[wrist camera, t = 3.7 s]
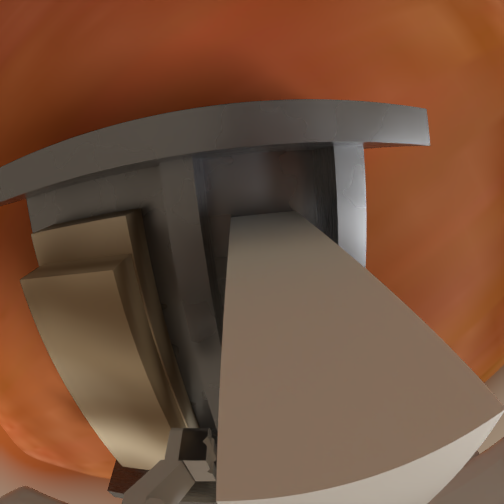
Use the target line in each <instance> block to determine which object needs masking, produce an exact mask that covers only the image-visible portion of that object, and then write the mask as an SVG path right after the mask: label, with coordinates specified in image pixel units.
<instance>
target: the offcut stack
mask: <svg viewBox="0 0 504 504" xmlns="http://www.w3.org/2000/svg"><path fill="white" fill-rule="evenodd" d="M31 236H32V241H33V245H34V249H35V253H36V257H37V261H38V264H39V267H38V268H37V269H35V270H34V271H32V272H31V273H29V274H28V275H26V276H25V277H23V278H22V279H20V283H21V286H22V289H23V292H24V295H25V298H26V300H27V303H28V306H29V308H30V311H31V314H32V316H33V319H34V321H35V324H36V326H37V328H38V331H39V333H40V335H41V338H42V340H43V342H44V344H45V346H46V349H47V351H48V353H49V355H50V357H51V359H52V361H53V363H54V365H55V367H56V369H57V371H58V372H59V374H60V376H61V378H62V380H63V382H64V383H65V385H66V387H67V389H68V390H69V392H70V394H71V395H72V397H73V399H74V400H75V402H76V404H77V405H78V407H79V408H80V410H81V411H82V413H83V415H84V416H85V418H86V419H87V421H88V422H89V423H90V425H91V426H92V428H93V429H94V431H95V432H96V433H97V435H98V436H99V438H100V439H101V440H102V442H103V443H104V444H105V446H106V447H107V448H108V449H109V451H110V452H111V453H112V454H113V456H114V457H115V458H116V459H117V461H118V462H119V463H120V464H121V465H122V466H123V467H130V468H137V469H145V470H150V469H151V468H153V467H154V466H155V465H156V464H157V463H158V462H159V461H160V460H164V459H165V453H166V448H167V442H168V437H169V432H170V430H171V428H200V427H199V425H198V422H197V419H196V417H195V414H194V411H193V409H192V406H191V403H190V400H189V397H188V395H187V392H186V389H185V386H184V383H183V380H182V377H181V374H180V371H179V368H178V364H177V361H176V358H175V355H174V351H173V348H172V345H171V341H170V338H169V334H168V331H167V327H166V323H165V320H164V316H163V312H162V308H161V304H160V300H159V296H158V292H157V288H156V283H155V279H154V275H153V270H152V266H151V261H150V256H149V251H148V246H147V241H146V235H145V230H144V224H143V219H142V213H141V208H137V209H131V210H125V211H120V212H114V213H109V214H103V215H98V216H93V217H88V218H82V219H78V220H73V221H68V222H63V223H59V224H54V225H51V226H48V227H46V228H44V229H41V230H39V231H37V232H35V233H32V234H31Z"/></svg>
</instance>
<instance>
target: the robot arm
mask: <svg viewBox="0 0 504 504" xmlns="http://www.w3.org/2000/svg"><path fill="white" fill-rule="evenodd" d="M216 459H217V451H216V444H215V440H214V439H213V438H212V432H211V429H210V428H171V430H170V432H169V437H168V442H167V448H166V453H165V459H164V460H160V461H159V462H158V463H157V464H156V465H155V466H154V467H153V468H151V469H150V470H149V471H148V472H147V473H146V474H145V475H144V476H143V477H142V478H140V479H139V480H138V481H137V482H136V483H135V484H134V485H133V486H131V487H130V488H129V489H128V490H127V491H126V492H125V493H124V497H123V501H122V504H178V503H179V502H180V501H181V500H182V498H183V497H184V496H185V495H186V493H187V492H188V491H189V490H190V488H191V487H192V486H193V484H194V483H195V481H216V466H215V463H214V462H215V460H216ZM0 504H68V503H65V502H63V501H60V500H57V499H55V498H53V497H50V496H48V495H46V494H43V493H41V492H39V491H37V490H35V489H33V488H30V487H27V486H23V487H20V488H17V489H15V490H13V491H11V492H9V493H7V494H5V495H3V496H2V497H1V498H0ZM427 504H504V437H503V438H502V439H500V440H499V441H498V442H496V443H495V444H494V445H492V446H491V447H490V448H489V449H487V450H485V451H484V452H482V453H481V454H479V452H478V451H476V452H475V453H474V454H473V456H472V457H471V458H470V459H469V461H468V462H467V463H466V464H465V465H464V466H463V468H462V469H461V470H460V471H459V472H458V473H457V474H456V475H455V476H454V478H453V479H452V480H451V481H450V482H449V483H448V484H447V485H446V486H445V487H444V488H443V489H442V490H441V491H440V492H439V493H438V494H437V495H436V496H435V497H434V498H433V499H432V500H431V501H430V502H429V503H427Z"/></svg>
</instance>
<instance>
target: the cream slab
mask: <svg viewBox="0 0 504 504" xmlns="http://www.w3.org/2000/svg"><path fill="white" fill-rule="evenodd" d="M503 412H504V405H503V404H502V403H501V402H500V401H499V400H498V398H497V397H496V396H495V395H494V394H493V393H492V392H491V391H490V389H489V388H488V387H487V386H486V385H485V384H484V383H483V382H482V381H481V379H480V378H479V377H478V376H477V375H476V374H475V373H474V372H473V371H472V370H471V369H470V368H469V367H468V366H467V364H466V363H465V362H464V361H463V360H462V359H461V358H460V357H459V356H458V355H457V354H456V353H455V352H454V351H453V350H452V349H451V348H450V347H449V346H448V345H447V344H446V343H445V342H444V341H443V340H442V339H441V338H440V337H439V336H438V335H437V334H436V333H435V332H434V331H433V330H432V329H431V328H430V327H429V326H428V325H427V324H426V323H425V322H424V321H423V320H422V319H420V318H419V317H418V316H417V315H416V314H415V313H414V312H413V311H412V310H411V309H410V308H409V307H408V306H407V305H406V304H405V303H403V302H402V301H401V300H400V299H399V298H398V297H397V296H396V295H395V294H394V293H393V292H391V291H390V290H389V289H388V288H387V287H386V286H385V285H384V284H383V283H381V282H380V281H379V280H378V279H377V278H376V277H375V276H374V275H372V274H371V273H370V272H369V271H368V270H367V269H366V268H364V267H363V266H362V265H361V264H360V263H359V262H357V261H356V260H355V259H354V258H353V257H352V256H350V255H349V254H348V253H347V252H346V251H344V250H343V249H342V248H341V247H340V246H339V245H337V244H336V243H335V242H334V241H332V240H331V239H330V238H329V237H328V236H326V235H325V234H324V233H323V232H322V231H320V230H319V229H318V228H317V227H315V226H314V225H313V224H312V223H310V222H309V221H308V220H307V219H305V218H304V217H303V216H302V215H300V214H299V213H298V212H297V211H288V212H278V213H267V214H258V215H248V216H239V217H231V223H230V235H229V248H228V261H227V274H226V288H225V302H224V318H223V334H222V351H221V370H220V390H219V413H218V441H217V477H216V502H217V503H218V504H427V503H429V502H430V501H431V500H432V499H433V498H434V497H435V496H436V495H437V494H438V493H439V492H440V491H441V490H442V489H443V488H444V487H445V486H446V485H447V484H448V483H449V482H450V481H451V480H452V479H453V478H454V476H455V475H456V474H457V473H458V472H459V471H460V470H461V469H462V468H463V466H464V465H465V464H466V463H467V462H468V461H469V459H470V458H471V457H472V456H473V454H474V453H475V452H476V451H477V449H478V448H479V447H480V446H481V444H482V443H483V442H484V440H485V439H486V437H487V436H488V435H489V433H490V432H491V430H492V429H493V428H494V426H495V425H496V423H497V421H498V420H499V419H500V417H501V416H502V414H503Z"/></svg>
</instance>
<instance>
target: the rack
mask: <svg viewBox="0 0 504 504" xmlns="http://www.w3.org/2000/svg"><path fill="white" fill-rule="evenodd" d="M399 146H430V138H429V127H428V118H427V110H426V109H424V108H417V107H411V106H403V105H395V104H387V103H377V102H365V101H349V100H318V99H302V100H270V101H254V102H242V103H232V104H223V105H214V106H207V107H200V108H193V109H187V110H181V111H175V112H170V113H164V114H159V115H155V116H150V117H145V118H141V119H137V120H132V121H128V122H124V123H120V124H117V125H113V126H109V127H106V128H102V129H99V130H95V131H92V132H89V133H86V134H82V135H79V136H76V137H73V138H70V139H68V140H65V141H62V142H59V143H56V144H54V145H51V146H48V147H46V148H43V149H41V150H38V151H36V152H33V153H31V154H29V155H26V156H24V157H22V158H19V159H17V160H15V161H13V162H11V163H9V164H6V165H4V166H2V167H0V206H3V205H6V204H10V203H13V202H17V201H20V200H24V199H27V205H28V211H29V217H30V222H31V227H32V232H33V233H35V232H37V231H39V230H41V229H44V228H46V227H48V226H51V225H54V224H59V223H63V222H68V221H73V220H78V219H82V218H88V217H93V216H98V215H103V214H109V213H114V212H120V211H125V210H131V209H137V208H141V213H142V219H143V224H144V230H145V235H146V241H147V246H148V251H149V256H150V261H151V266H152V270H153V275H154V279H155V283H156V288H157V292H158V296H159V300H160V304H161V308H162V312H163V316H164V320H165V323H166V327H167V331H168V334H169V338H170V341H171V345H172V348H173V351H174V355H175V358H176V361H177V364H178V368H179V371H180V374H181V377H182V380H183V383H184V386H185V389H186V392H187V395H188V397H189V400H190V403H191V406H192V409H193V411H194V414H195V417H196V419H197V422H198V425H199V427H200V428H210V429H211V432H212V438H213V439H214V440H215V444H216V451H217V441H218V413H219V390H220V370H221V351H222V334H223V318H224V302H225V288H226V274H227V261H228V248H229V235H230V223H231V217H239V216H248V215H258V214H267V213H278V212H288V211H297V212H298V213H299V214H300V215H302V216H303V217H304V218H305V219H307V220H308V221H309V222H310V223H312V224H313V225H314V226H315V227H317V228H318V229H319V230H320V231H322V232H323V233H324V234H325V235H326V236H328V237H329V238H330V239H331V240H332V241H334V242H335V243H336V244H337V245H339V246H340V247H341V248H342V249H343V250H344V251H346V252H347V253H348V254H349V255H350V256H352V257H353V258H354V259H355V260H356V261H357V262H359V263H360V264H361V265H362V266H363V267H364V268H365V264H366V183H365V164H364V150H363V149H366V148H381V147H399ZM214 463H215V466H216V477H217V459H216V460H215V462H214ZM148 471H149V470H145V469H137V468H130V467H123V466H122V465H121V464H120V463H119V462H118V461H117V459H116V462H115V466H114V469H113V472H112V476H111V479H110V483H109V487H108V491H109V492H110V493H111V494H112V495H113V496H114V497H119V498H123V497H124V493H125V492H126V491H127V490H128V489H129V488H130V487H131V486H133V485H134V484H135V483H136V482H137V481H138V480H139V479H140V478H142V477H143V476H144V475H145V474H146V473H147V472H148ZM178 504H218V503H217V502H216V481H195V483H194V484H193V486H192V487H191V488H190V490H189V491H188V492H187V493H186V495H185V496H184V497H183V498H182V500H181V501H180V502H179V503H178Z"/></svg>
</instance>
